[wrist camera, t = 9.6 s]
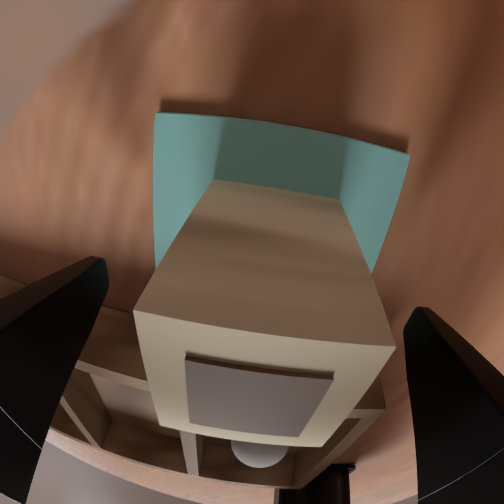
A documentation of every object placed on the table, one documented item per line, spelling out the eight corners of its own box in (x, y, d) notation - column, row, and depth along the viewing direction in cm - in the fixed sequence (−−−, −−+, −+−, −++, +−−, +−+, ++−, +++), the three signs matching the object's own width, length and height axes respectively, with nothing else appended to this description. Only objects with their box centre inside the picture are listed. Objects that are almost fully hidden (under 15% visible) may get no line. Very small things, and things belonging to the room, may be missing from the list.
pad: (406, 152, 9) (410, 155, 8) (342, 332, 13) (342, 338, 12) (159, 111, 9) (155, 113, 8) (161, 304, 13) (158, 310, 12)
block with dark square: (313, 298, 11) (325, 450, 6) (206, 281, 11) (158, 428, 6) (342, 200, 9) (403, 351, 4) (212, 179, 9) (130, 313, 4)
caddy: (373, 349, 13) (386, 408, 10) (301, 453, 21) (300, 489, 18) (-24, 266, 13) (-54, 296, 11) (39, 388, 21) (24, 415, 18)
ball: (295, 408, 16) (295, 459, 13) (283, 430, 17) (281, 475, 15) (237, 401, 16) (229, 453, 13) (232, 425, 17) (225, 470, 15)
